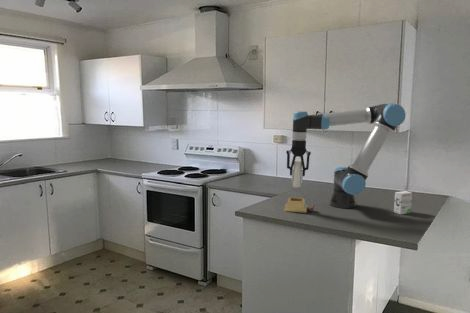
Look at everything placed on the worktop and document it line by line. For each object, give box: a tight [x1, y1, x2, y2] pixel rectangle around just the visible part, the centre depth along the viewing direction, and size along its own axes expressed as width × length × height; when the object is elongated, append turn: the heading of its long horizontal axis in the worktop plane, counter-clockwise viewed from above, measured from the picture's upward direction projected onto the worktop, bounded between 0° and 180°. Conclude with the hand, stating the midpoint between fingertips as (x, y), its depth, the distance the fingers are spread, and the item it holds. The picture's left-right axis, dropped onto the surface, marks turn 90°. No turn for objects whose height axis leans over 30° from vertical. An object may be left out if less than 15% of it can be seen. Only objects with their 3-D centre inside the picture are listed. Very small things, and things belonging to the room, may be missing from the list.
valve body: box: [284, 196, 315, 214], centre depth 208 cm, size 16×9×6 cm, turn 76°
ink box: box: [393, 190, 413, 215], centre depth 208 cm, size 9×5×12 cm, turn 116°
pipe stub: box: [292, 160, 303, 188], centre depth 206 cm, size 4×4×14 cm
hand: (297, 181), depth 207 cm, fingers closed on pipe stub, 4 cm apart
